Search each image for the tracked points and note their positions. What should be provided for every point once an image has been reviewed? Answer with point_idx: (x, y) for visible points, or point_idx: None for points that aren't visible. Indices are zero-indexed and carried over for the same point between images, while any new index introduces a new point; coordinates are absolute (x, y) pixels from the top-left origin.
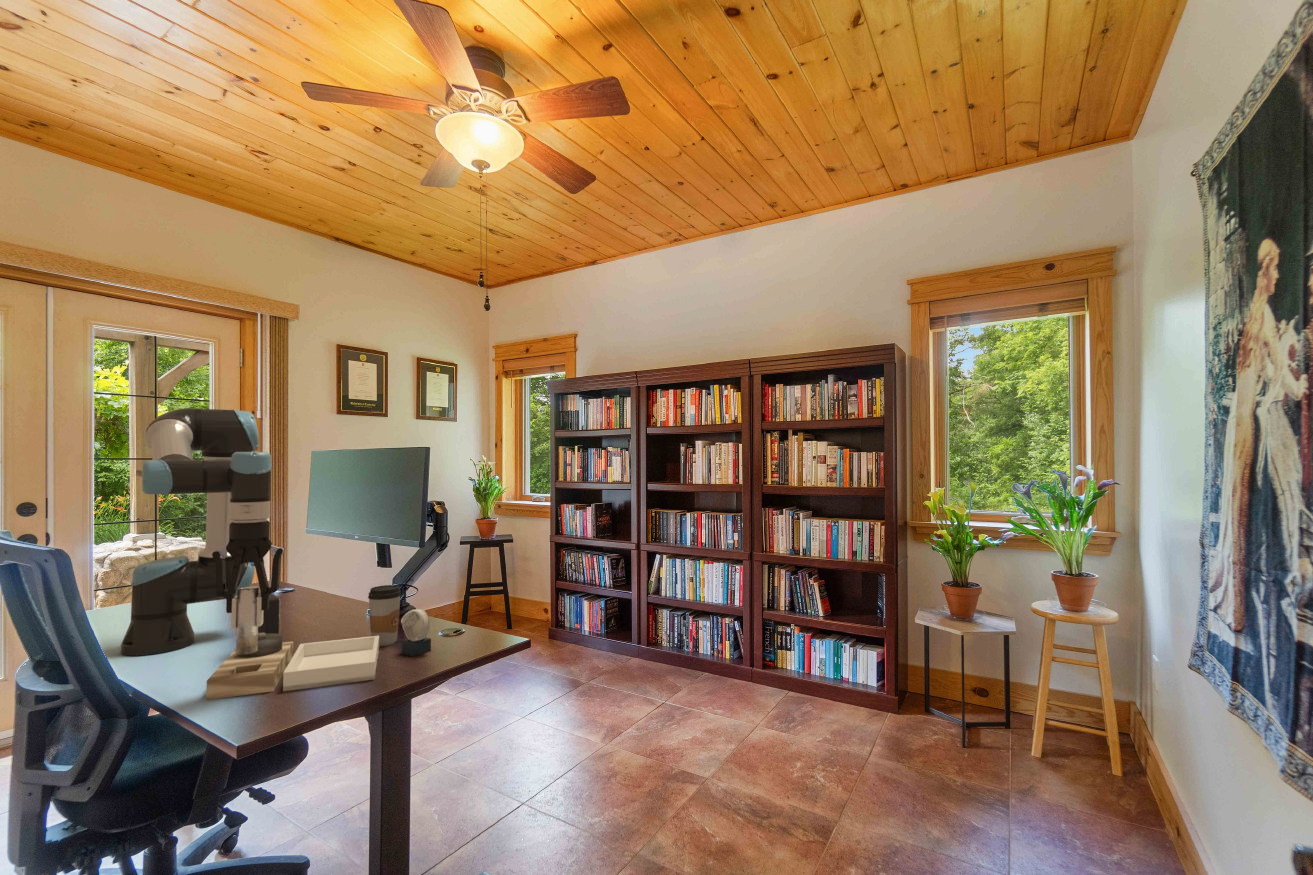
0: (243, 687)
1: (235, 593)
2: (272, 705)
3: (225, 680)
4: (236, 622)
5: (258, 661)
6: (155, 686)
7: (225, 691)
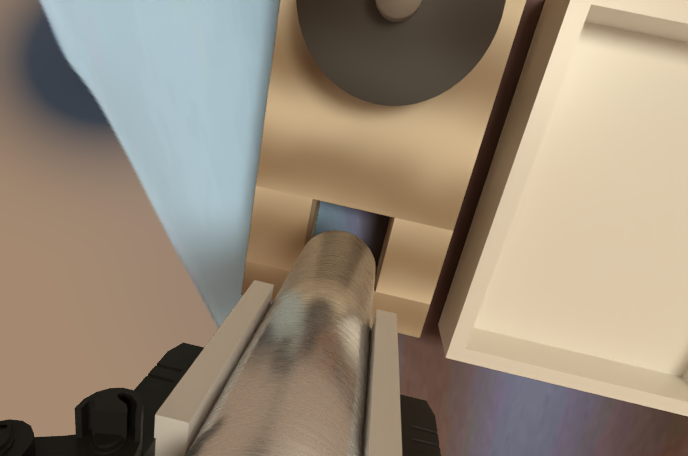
0: None
1: (138, 448)
2: None
3: None
4: None
5: (383, 176)
6: (100, 44)
7: None
